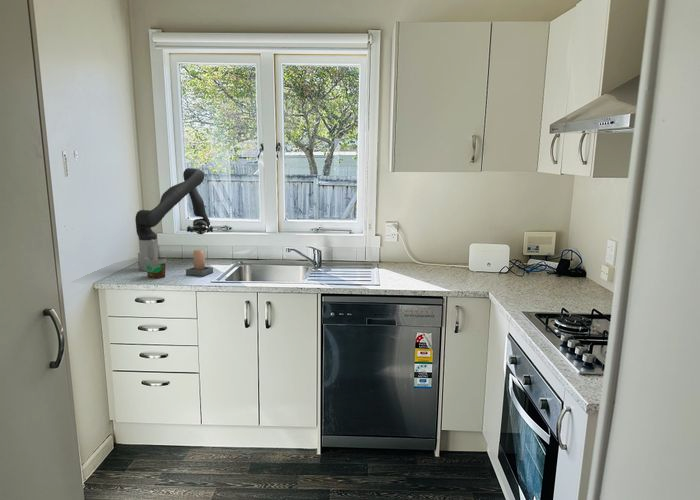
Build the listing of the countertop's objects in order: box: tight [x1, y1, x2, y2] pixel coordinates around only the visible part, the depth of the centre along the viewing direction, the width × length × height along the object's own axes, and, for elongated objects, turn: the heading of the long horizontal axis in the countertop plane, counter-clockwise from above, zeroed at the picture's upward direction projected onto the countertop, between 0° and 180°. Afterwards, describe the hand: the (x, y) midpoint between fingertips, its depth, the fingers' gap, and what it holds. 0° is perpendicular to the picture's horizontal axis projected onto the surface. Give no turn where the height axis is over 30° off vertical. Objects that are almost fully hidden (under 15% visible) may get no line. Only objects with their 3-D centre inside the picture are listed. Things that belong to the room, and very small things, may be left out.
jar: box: [193, 249, 206, 271], centre depth 257 cm, size 6×6×12 cm
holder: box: [185, 266, 214, 278], centre depth 257 cm, size 10×10×3 cm
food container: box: [144, 257, 168, 280], centre depth 246 cm, size 12×6×10 cm, turn 73°
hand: (199, 230), depth 269 cm, fingers open, 8 cm apart
